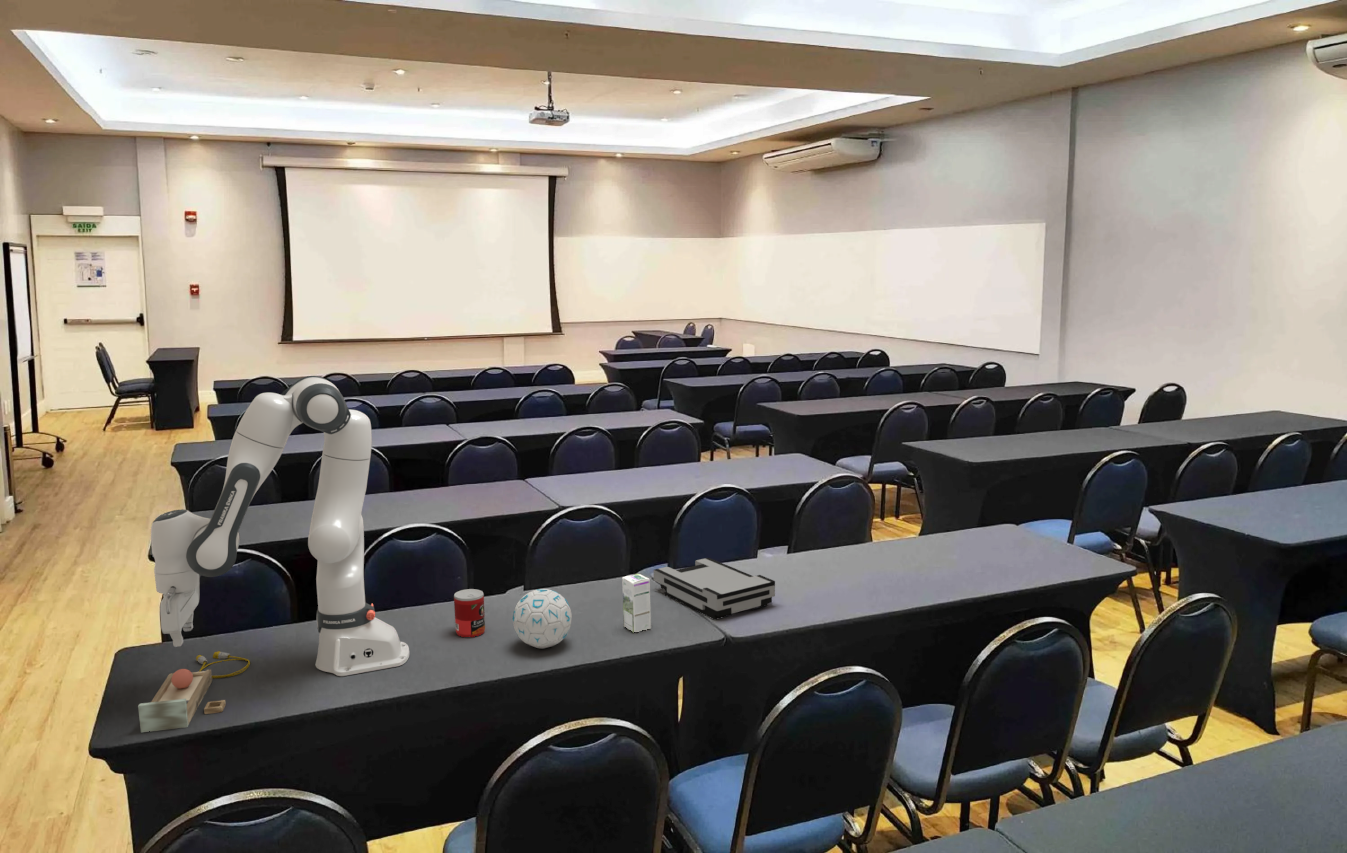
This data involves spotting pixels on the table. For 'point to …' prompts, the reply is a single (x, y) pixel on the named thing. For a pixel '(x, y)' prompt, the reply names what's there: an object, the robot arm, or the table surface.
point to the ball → (182, 678)
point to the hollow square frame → (214, 707)
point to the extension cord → (221, 655)
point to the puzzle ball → (542, 618)
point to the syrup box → (636, 602)
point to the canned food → (469, 612)
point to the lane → (174, 704)
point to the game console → (715, 588)
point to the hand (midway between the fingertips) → (183, 637)
